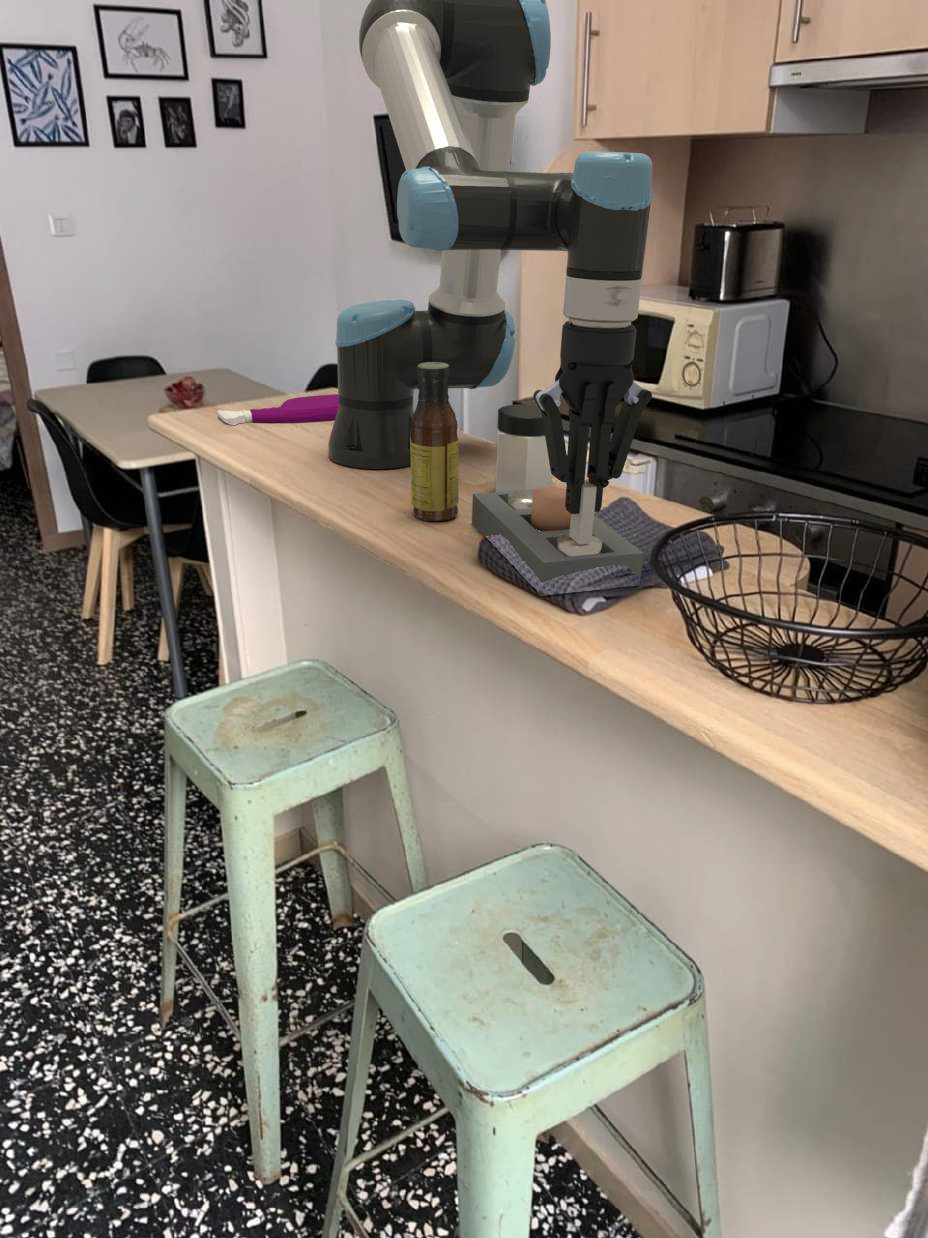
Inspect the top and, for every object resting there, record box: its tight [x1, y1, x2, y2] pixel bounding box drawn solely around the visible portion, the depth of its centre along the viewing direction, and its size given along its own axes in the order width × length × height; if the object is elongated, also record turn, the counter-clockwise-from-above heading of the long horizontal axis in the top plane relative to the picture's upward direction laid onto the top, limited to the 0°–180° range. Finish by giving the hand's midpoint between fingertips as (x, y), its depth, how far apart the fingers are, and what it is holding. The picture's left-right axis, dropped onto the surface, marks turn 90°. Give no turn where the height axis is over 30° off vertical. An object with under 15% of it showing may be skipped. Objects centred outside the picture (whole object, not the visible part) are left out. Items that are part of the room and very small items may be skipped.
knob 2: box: [557, 534, 602, 557], centre depth 106 cm, size 5×5×4 cm
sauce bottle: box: [410, 362, 459, 522], centre depth 120 cm, size 7×6×20 cm
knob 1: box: [508, 491, 533, 510], centre depth 120 cm, size 5×5×4 cm
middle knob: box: [531, 486, 571, 531], centre depth 112 cm, size 5×5×4 cm
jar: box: [494, 403, 553, 492], centre depth 132 cm, size 9×8×12 cm
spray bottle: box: [216, 393, 338, 426], centre depth 170 cm, size 3×11×24 cm
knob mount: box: [471, 489, 644, 583], centre depth 113 cm, size 24×12×4 cm, turn 18°
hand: (580, 539), depth 105 cm, fingers closed
